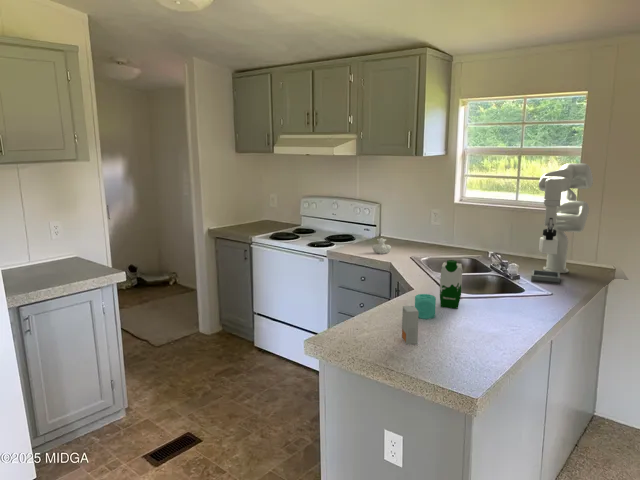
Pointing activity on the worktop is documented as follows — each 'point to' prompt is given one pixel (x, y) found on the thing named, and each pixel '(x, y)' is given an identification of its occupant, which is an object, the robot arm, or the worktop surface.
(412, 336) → the skincare box
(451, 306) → the milk carton
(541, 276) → the tray
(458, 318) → the worktop surface
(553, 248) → the medicine bottle
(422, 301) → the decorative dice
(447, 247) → the worktop surface
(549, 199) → the robot arm
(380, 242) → the white lobed vase
